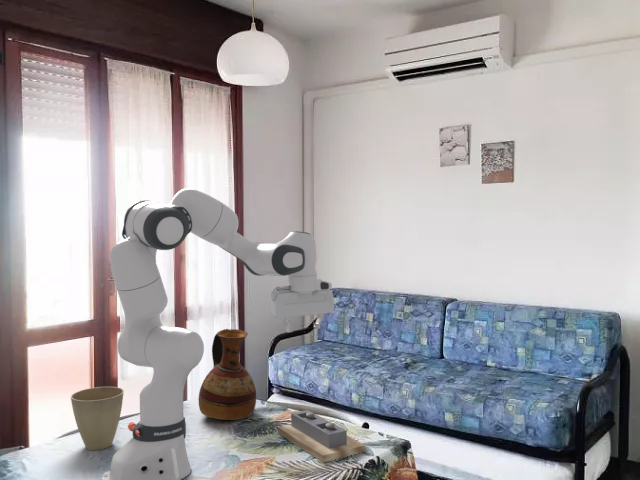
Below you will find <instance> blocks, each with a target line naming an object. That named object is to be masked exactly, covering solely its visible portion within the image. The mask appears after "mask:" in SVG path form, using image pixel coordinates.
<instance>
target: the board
mask: <svg viewBox="0 0 640 480" xmlns="http://www.w3.org/2000/svg"><path fill="white" fill-rule="evenodd" d="M315 414H316V413H315V412H312V411H310V412H309V413H306V417H308V419H309V420H313V417H315ZM335 425H336V424H335V423H334V422H331V423H326V428H328V430H329V431H333V428H334V427H335ZM277 434H278V435H280V437H281V436H282V437H283V438H284V439H286V440H287V441H288V442H290V443H292V444H294V445H295V446H297V447H298V448H300V449H301V450H303V451H304V452H306V453H307V454H309V455H311V456H312V457H314V458H315V459H317V460H318V461H320V462H322V464H323V463H327V462H331V461H335V459H336V460H339V458H340V459H344V458H348V457H351V456H350V455H352V456H355V455H354V454H356V455H359V454H358V453H360V454H363V453H362V452H364V453H366V449H367V448H366V444H364V443H362V442H360V441H359V440H357V439H355V438H353V437H351V436H349V435H347V445H343V446H338V447H334V448H330V449H328V448H327V447H325V446H323V445H322V444H320V443H319V442H317V441H315V440H314V439H312V438H310V437H309V436H307V435H305V434H304V433H302V432H300V431H299V430H297V429H295V428H294V427H292V426H291V423H290V424H287V425H286V424H285V425H282V426H277ZM347 456H348V457H347ZM343 457H344V458H343Z"/></svg>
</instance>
